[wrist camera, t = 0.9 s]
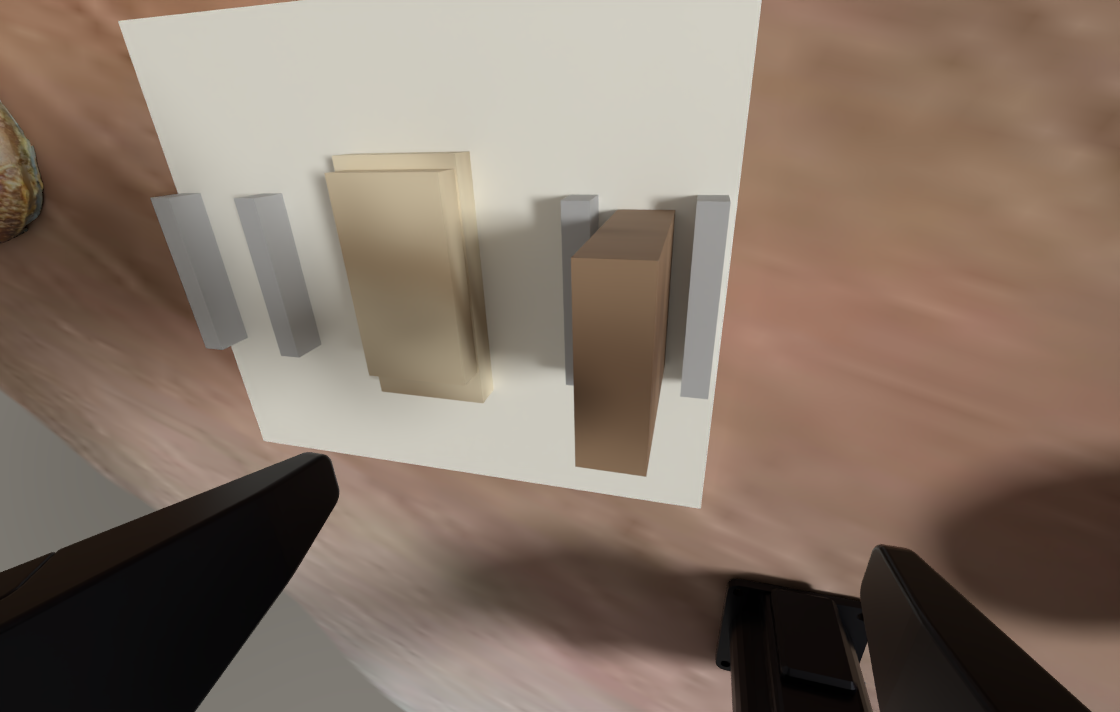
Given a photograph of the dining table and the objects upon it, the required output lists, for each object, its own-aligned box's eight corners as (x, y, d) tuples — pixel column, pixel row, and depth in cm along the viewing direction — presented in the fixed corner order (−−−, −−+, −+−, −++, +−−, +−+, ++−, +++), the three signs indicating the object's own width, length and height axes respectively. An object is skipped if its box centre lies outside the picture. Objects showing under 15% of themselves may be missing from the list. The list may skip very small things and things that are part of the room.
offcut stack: (493, 389, 22) (471, 418, 20) (396, 379, 23) (365, 404, 21) (469, 151, 18) (438, 155, 16) (351, 153, 19) (308, 158, 17)
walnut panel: (664, 365, 20) (646, 476, 13) (614, 360, 20) (575, 466, 14) (675, 209, 17) (658, 260, 11) (617, 209, 17) (570, 257, 11)
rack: (700, 493, 23) (700, 533, 21) (277, 431, 29) (242, 456, 27) (764, -42, 14) (774, -70, 12) (143, 25, 20) (75, 14, 18)
